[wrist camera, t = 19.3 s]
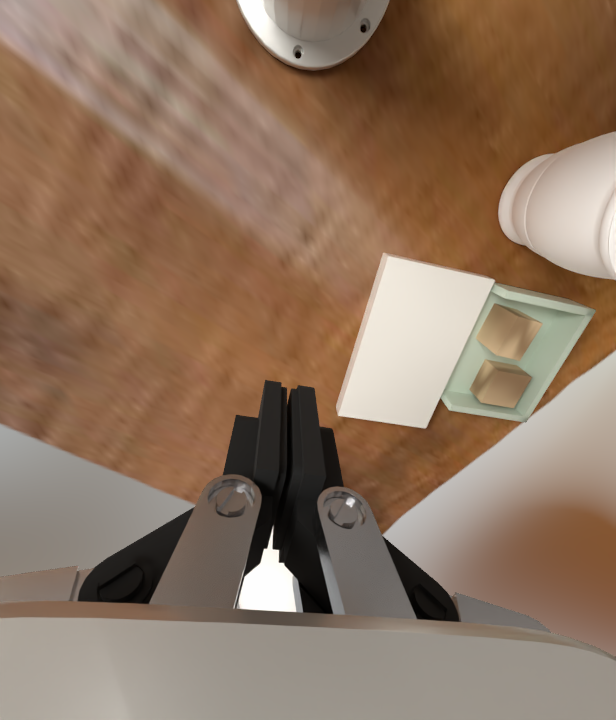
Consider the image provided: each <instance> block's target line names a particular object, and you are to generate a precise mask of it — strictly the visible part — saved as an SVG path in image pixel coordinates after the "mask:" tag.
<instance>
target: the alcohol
mask: <svg viewBox="0 0 616 720" xmlns="http://www.w3.org/2000/svg"><path fill="white" fill-rule="evenodd" d="M272 545H273V528H272V532H271V536H270V540H269V544H268V548H267V549H264V551H263V555H262V559H261V563H260V564H259V565H258V566H257V567H255V568H254V569H253V570H252V571H251V572H250V573H249V574H247V575H246V576H245V578H244V582H243V586H242V590H241V594H240V598H239V603H240V608H241V609H250V610H268V611H286V612H296V605H295V599H294V592H293V586H292V578H293V574H292V573H291V572H290V571H289V570H288V569H287V568H286V567H285V565H284V563H279V550H273V547H272Z"/></svg>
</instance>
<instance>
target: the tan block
mask: <svg viewBox="0 0 616 720" xmlns="http://www.w3.org/2000/svg"><path fill="white" fill-rule="evenodd" d="M531 379H532V377H531V376H530V375H529V374H527V373H526V372H525V371H524V370H522V369H521V368H520V367H518V366H517V365H513V364H508V363H502V362H497V361H492V360H487V359H485V360H484V362H483V364H482V366H481V368H480V370H479V372H478V374H477V376H476V378H475V379H474V381H473V383H472V385H471V387H470V389H469V390H470V391H471V392H472V393H473V394H474V395H475V396H476V398H477V399H478V400H479V401H480V402H481V403H486V404H492V405H498V406H504V407H509V408H514V407H515V405H516V404H517V402H518V400H519V399H520V397H521V395H522V394H523V392H524V390H525V389H526V387H527V385H528V384H529V382H530V380H531Z"/></svg>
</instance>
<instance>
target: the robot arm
mask: <svg viewBox="0 0 616 720" xmlns="http://www.w3.org/2000/svg"><path fill="white" fill-rule="evenodd" d="M236 1H237V4H238V7H239V10H240V12H241V14H242V16H243V18H244V20H245V22H246V24H247V26H248V28H249V29H250V31H251V32H252V33H253V35H254V36H255V38H256V39H257V40H258V42H259V43H260V44H261V45H262V46H263V47H264V48H265V49H266V50H267V51H268V52H269V53H270V54H271V55H272V56H274V57H275V58H277V59H279V60H280V61H282V62H283V63H285V64H287V65H290V66H293V67H295V68H298V69H303V70H312V71H315V70H323V69H329V68H331V67H334V66H337V65H339V64H342V63H343V62H345V61H346V60H348V59H349V58H351V57H352V56H354V55H355V54H356V53H357V52H358V51H359V50H360V49H361V48H362V47H363V46H364V45H365V44H366V43H367V42H368V40H369V39H370V37H371V36H372V34H373V33H374V31H375V30H376V29H377V27H378V25H379V23H380V21H381V19H382V18H383V16H384V14H385V11H386V9H387V6H388V3H389V1H390V0H236ZM362 26H363V27H365V29H366V32H365V33H362V32H361V31H360V27H362ZM297 52H299V53H300V54H301V58H299V59H297V58H296V57H295V53H297ZM272 528H273V545H272V547H273V550H279V563H284V565H285V567H286V568H287V569H288V570H289V571H290V572H291V573H292V574H293V578H292V586H293V592H294V599H295V605H296V612H286V611H268V610H250V609H237V606H238V602H239V598H240V594H241V590H242V586H243V582H244V578H245V576H246V575H247V574H249V573H250V572H251V571H252V570H253V569H254V568H255V567H257V566H258V565H259V564H260V563H261V559H262V555H263V551H264V549H267V548H268V544H269V540H270V536H271V532H272ZM0 720H616V656H613V655H611V654H609V653H607V652H605V651H603V650H601V649H599V648H597V647H595V646H592V645H589V644H587V643H584V642H581V641H578V640H575V639H572V638H569V637H566V636H563V635H559V634H554V633H551V632H550V631H549V629H547V628H546V627H545V626H544V625H543V624H541V623H540V622H539V621H537V620H535V619H533V618H531V617H529V616H527V615H524V614H520V613H518V612H515V611H511V610H508V609H505V608H502V607H499V606H496V605H493V604H490V603H487V602H483V601H481V600H477V599H474V598H471V597H468V596H465V595H462V594H459V593H455V594H454V595H453V596H450V595H449V594H448V593H447V592H446V591H445V590H444V589H443V588H442V586H440V585H439V584H438V583H437V582H436V581H435V580H434V579H433V578H431V577H430V576H429V575H428V574H427V573H426V572H424V571H423V570H422V569H421V568H419V567H418V566H417V565H416V564H415V563H414V562H413V561H411V560H410V559H409V558H408V557H407V556H405V555H404V554H403V553H402V552H401V551H399V550H398V549H397V548H396V547H395V546H394V545H392V544H391V543H390V542H389V541H388V540H386V539H385V538H384V537H383V536H382V535H381V532H380V530H379V527H378V525H377V523H376V520H375V518H374V515H373V513H372V511H371V508H370V507H369V505H368V503H367V502H366V500H365V499H364V498H363V497H362V496H361V495H359V494H358V493H356V492H355V491H353V490H351V489H348V488H345V487H344V486H343V481H342V475H341V470H340V465H339V459H338V454H337V449H336V443H335V438H334V433H333V430H332V429H331V428H325V427H320V426H319V419H318V411H317V404H316V397H315V389H314V388H312V387H306V386H300V385H298V387H297V389H291V391H290V396H289V400H288V404H287V388H285V387H281V382H274V381H268V380H265V384H264V389H263V395H262V400H261V405H260V411H259V416H258V418H254V417H247V416H240V415H236V418H235V422H234V427H233V431H232V436H231V440H230V445H229V450H228V454H227V459H226V463H225V468H224V472H223V475H222V476H220V477H217V478H215V479H213V480H212V481H211V482H209V483H208V484H207V485H206V487H205V488H204V489H203V491H202V493H201V495H200V497H199V499H198V502H197V504H196V506H195V507H194V508H192V509H190V510H189V511H187V512H185V513H184V514H182V515H180V516H178V517H177V518H175V519H173V520H172V521H170V522H168V523H166V524H165V525H163V526H161V527H160V528H158V529H156V530H155V531H153V532H151V533H150V534H148V535H146V536H144V537H143V538H141V539H139V540H137V541H136V542H134V543H132V544H131V545H129V546H127V547H126V548H124V549H122V550H120V551H119V552H117V553H115V554H114V555H112V556H110V557H108V558H107V559H105V560H104V561H103V562H101V563H100V564H99V565H97V566H96V567H95V568H92V569H85V570H79V566H72V567H65V568H57V569H50V570H44V571H36V572H29V573H22V574H15V575H8V576H1V577H0Z"/></svg>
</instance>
